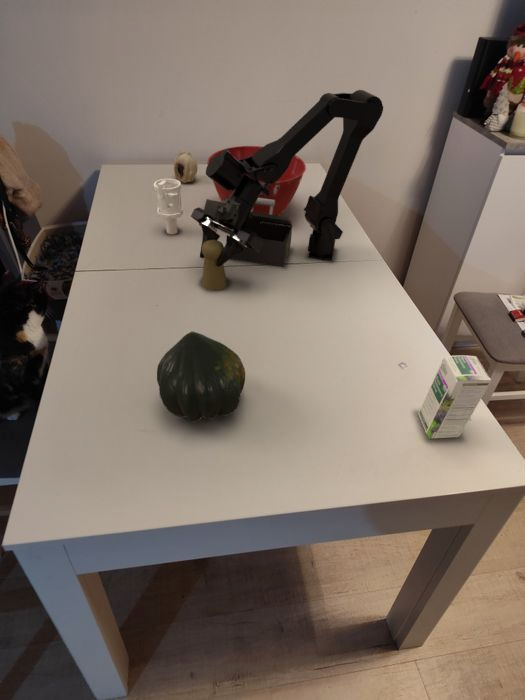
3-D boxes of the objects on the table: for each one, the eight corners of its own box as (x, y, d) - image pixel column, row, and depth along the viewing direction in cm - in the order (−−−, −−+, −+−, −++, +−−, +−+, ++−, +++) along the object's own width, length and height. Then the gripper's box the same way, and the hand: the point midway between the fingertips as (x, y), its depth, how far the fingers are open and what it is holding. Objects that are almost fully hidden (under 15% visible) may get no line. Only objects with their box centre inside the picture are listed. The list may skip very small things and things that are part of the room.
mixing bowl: (319, 220, 136) (326, 169, 126) (240, 243, 124) (241, 189, 113) (266, 187, 153) (269, 140, 143) (192, 205, 140) (189, 154, 130)
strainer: (154, 234, 125) (147, 181, 115) (167, 223, 130) (162, 172, 120) (176, 239, 124) (171, 186, 114) (189, 229, 128) (185, 177, 118)
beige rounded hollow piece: (177, 183, 158) (171, 153, 154) (201, 179, 158) (195, 149, 154) (174, 185, 149) (167, 153, 145) (199, 181, 149) (193, 149, 145)
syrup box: (416, 413, 80) (441, 354, 71) (447, 412, 81) (477, 354, 71) (427, 439, 76) (456, 380, 66) (460, 438, 77) (493, 379, 67)
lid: (288, 220, 107) (291, 200, 107) (230, 212, 109) (232, 193, 109) (292, 226, 118) (295, 208, 117) (238, 218, 119) (241, 201, 119)
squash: (229, 433, 69) (241, 336, 68) (137, 419, 70) (148, 325, 70) (244, 419, 83) (254, 339, 83) (168, 408, 85) (177, 330, 84)
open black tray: (283, 267, 115) (286, 243, 111) (229, 258, 117) (229, 235, 113) (290, 249, 122) (292, 226, 118) (238, 241, 124) (238, 219, 120)
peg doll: (222, 292, 106) (221, 251, 98) (198, 288, 107) (195, 247, 99) (229, 278, 110) (229, 238, 103) (206, 275, 111) (204, 234, 104)
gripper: (193, 172, 99) (160, 234, 100) (256, 197, 91) (219, 265, 92) (219, 196, 109) (189, 252, 110) (278, 221, 101) (244, 281, 102)
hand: (209, 262), depth 103 cm, fingers closed on peg doll, 5 cm apart
